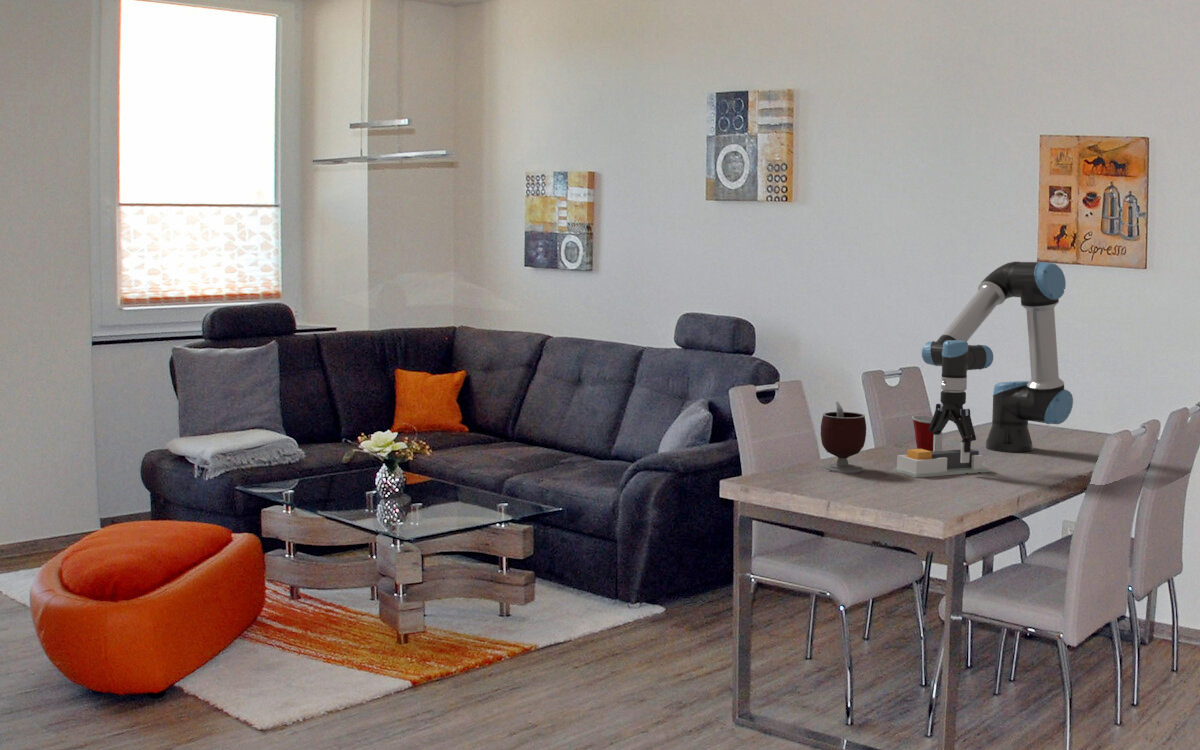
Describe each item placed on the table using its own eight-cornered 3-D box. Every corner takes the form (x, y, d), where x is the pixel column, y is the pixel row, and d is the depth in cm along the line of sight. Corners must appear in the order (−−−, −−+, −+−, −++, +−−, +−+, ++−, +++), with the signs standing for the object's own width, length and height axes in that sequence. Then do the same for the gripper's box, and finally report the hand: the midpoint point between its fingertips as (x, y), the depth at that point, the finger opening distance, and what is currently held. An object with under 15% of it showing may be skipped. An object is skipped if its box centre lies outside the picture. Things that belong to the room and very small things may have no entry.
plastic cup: (932, 457, 412) (934, 421, 411) (904, 453, 420) (905, 417, 418) (950, 453, 420) (951, 417, 418) (921, 449, 427) (922, 414, 426)
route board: (967, 465, 398) (967, 449, 397) (989, 471, 388) (990, 455, 387) (895, 470, 388) (895, 455, 388) (916, 477, 378) (916, 461, 377)
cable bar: (968, 464, 395) (969, 445, 394) (979, 467, 390) (980, 448, 389) (906, 468, 386) (907, 449, 386) (917, 472, 381) (918, 452, 381)
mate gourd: (870, 473, 384) (872, 408, 382) (825, 473, 383) (827, 408, 381) (856, 463, 400) (858, 401, 398) (813, 464, 399) (815, 401, 397)
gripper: (918, 386, 396) (916, 452, 399) (969, 396, 373) (966, 466, 376) (938, 385, 399) (936, 451, 402) (989, 395, 376) (986, 465, 379)
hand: (950, 458), depth 389 cm, fingers open, 13 cm apart
